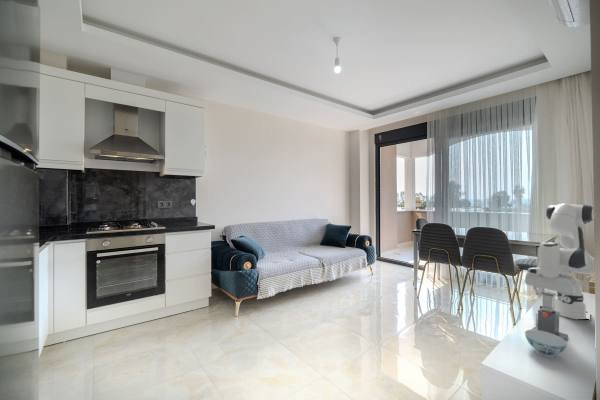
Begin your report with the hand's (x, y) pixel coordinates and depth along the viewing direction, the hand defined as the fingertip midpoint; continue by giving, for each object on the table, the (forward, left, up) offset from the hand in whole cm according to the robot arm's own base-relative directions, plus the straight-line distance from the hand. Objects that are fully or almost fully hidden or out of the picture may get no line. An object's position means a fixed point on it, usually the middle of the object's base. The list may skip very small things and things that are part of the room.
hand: (548, 297), depth 147 cm
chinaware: (+23, +5, -21) cm, 32 cm away
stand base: (0, 0, -21) cm, 21 cm away
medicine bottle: (-12, -4, -21) cm, 25 cm away
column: (0, 0, -19) cm, 19 cm away
